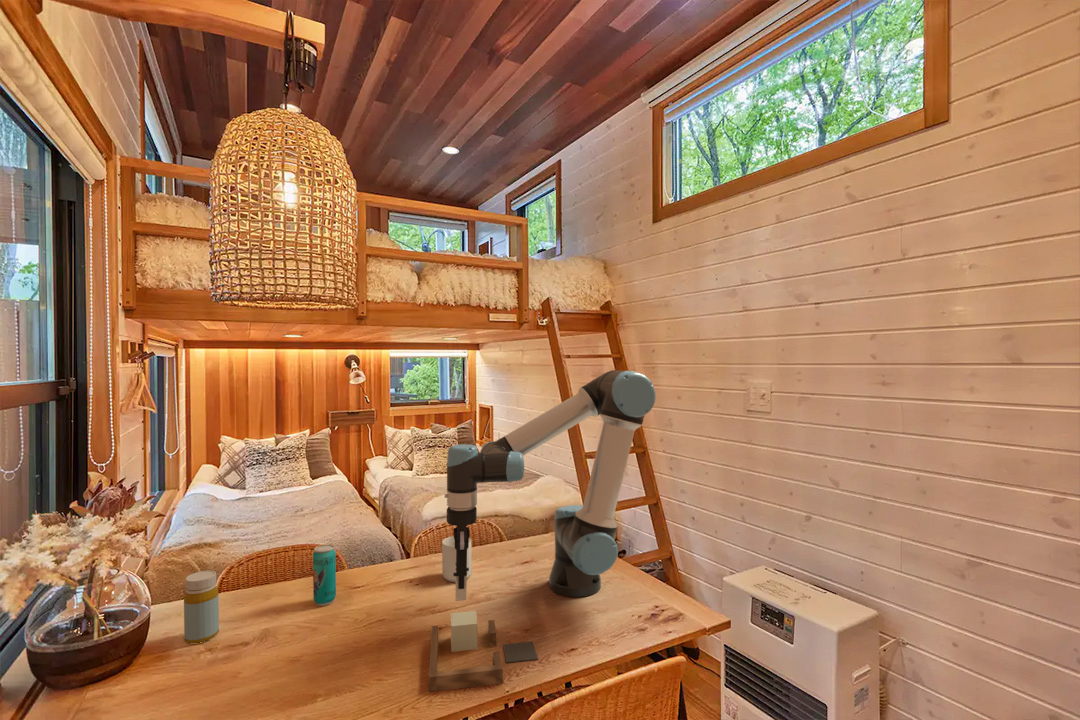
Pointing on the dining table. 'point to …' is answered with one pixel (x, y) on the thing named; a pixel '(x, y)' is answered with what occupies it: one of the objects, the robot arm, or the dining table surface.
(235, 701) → the dining table surface
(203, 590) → the bottle
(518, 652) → the plate
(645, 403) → the robot arm
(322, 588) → the beverage can
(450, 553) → the mug
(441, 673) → the channel
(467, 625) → the block
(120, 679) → the dining table surface
